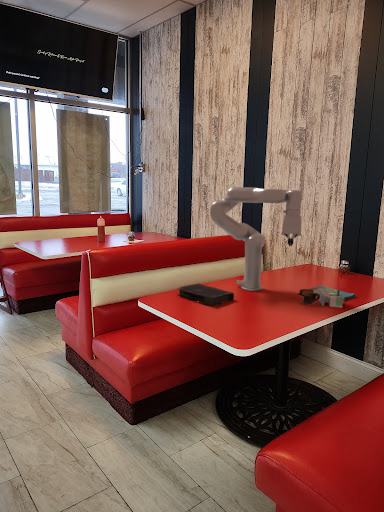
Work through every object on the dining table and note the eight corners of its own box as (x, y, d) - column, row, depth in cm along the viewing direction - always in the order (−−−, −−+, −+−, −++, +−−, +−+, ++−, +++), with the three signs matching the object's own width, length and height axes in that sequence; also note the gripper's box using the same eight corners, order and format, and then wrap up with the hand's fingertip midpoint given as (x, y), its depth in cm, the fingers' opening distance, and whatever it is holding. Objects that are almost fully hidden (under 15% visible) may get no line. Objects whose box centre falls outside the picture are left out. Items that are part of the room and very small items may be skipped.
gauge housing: (329, 306, 196) (330, 297, 195) (327, 300, 205) (328, 291, 204) (342, 307, 194) (343, 298, 193) (339, 301, 204) (340, 292, 203)
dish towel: (340, 303, 204) (340, 298, 203) (302, 292, 222) (303, 288, 221) (356, 298, 215) (357, 293, 214) (320, 288, 232) (320, 284, 232)
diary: (199, 291, 219) (199, 282, 218) (233, 301, 202) (234, 291, 202) (175, 296, 206) (175, 287, 205) (210, 308, 189) (211, 298, 188)
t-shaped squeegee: (321, 306, 195) (322, 291, 193) (318, 298, 207) (319, 284, 206) (345, 308, 193) (347, 293, 191) (341, 300, 205) (342, 286, 204)
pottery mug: (294, 303, 200) (295, 288, 203) (301, 308, 207) (302, 293, 210) (317, 302, 193) (317, 287, 195) (324, 307, 200) (324, 292, 202)
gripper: (279, 212, 208) (276, 246, 212) (307, 213, 205) (304, 247, 209) (278, 211, 216) (276, 244, 219) (306, 213, 213) (303, 245, 216)
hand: (290, 245), depth 214 cm, fingers closed
